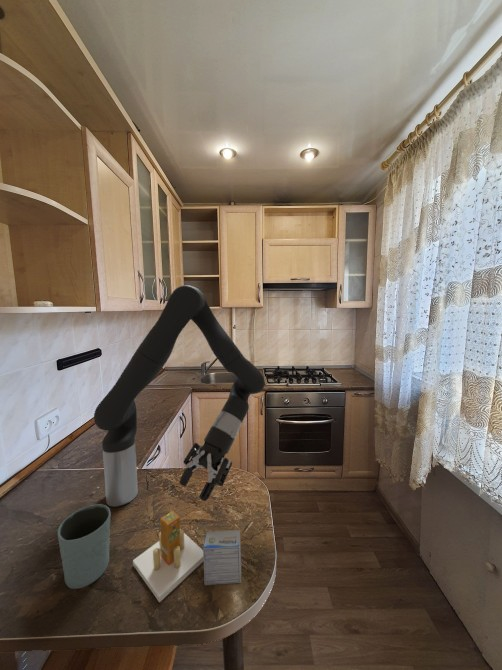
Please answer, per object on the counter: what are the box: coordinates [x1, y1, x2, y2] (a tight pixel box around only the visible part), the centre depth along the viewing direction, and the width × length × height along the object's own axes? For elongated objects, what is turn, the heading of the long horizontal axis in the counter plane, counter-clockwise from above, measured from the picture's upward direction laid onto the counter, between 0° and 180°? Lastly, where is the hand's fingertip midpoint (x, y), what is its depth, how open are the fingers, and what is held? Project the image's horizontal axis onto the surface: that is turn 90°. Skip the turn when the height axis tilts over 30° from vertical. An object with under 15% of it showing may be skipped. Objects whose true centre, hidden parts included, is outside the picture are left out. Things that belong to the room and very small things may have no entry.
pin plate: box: [132, 528, 204, 603], centre depth 58 cm, size 12×12×5 cm
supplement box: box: [159, 510, 181, 565], centre depth 58 cm, size 3×3×10 cm
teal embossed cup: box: [57, 503, 112, 590], centre depth 57 cm, size 10×10×12 cm
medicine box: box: [202, 529, 242, 586], centre depth 55 cm, size 8×4×9 cm, turn 92°
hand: (191, 492), depth 63 cm, fingers open, 8 cm apart
